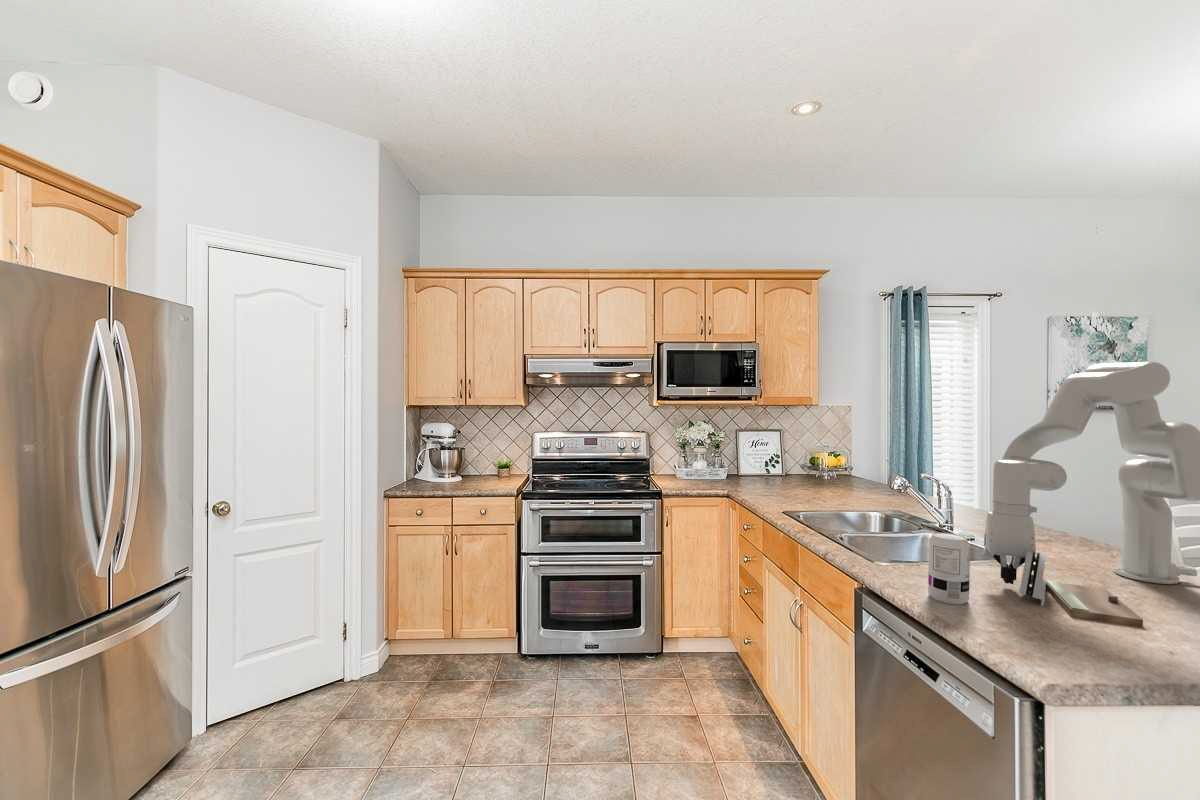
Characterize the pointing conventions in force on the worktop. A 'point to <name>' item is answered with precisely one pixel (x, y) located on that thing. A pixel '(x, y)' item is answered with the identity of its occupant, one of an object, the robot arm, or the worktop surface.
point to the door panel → (1092, 603)
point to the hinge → (1034, 576)
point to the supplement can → (949, 568)
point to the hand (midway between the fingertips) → (1008, 582)
